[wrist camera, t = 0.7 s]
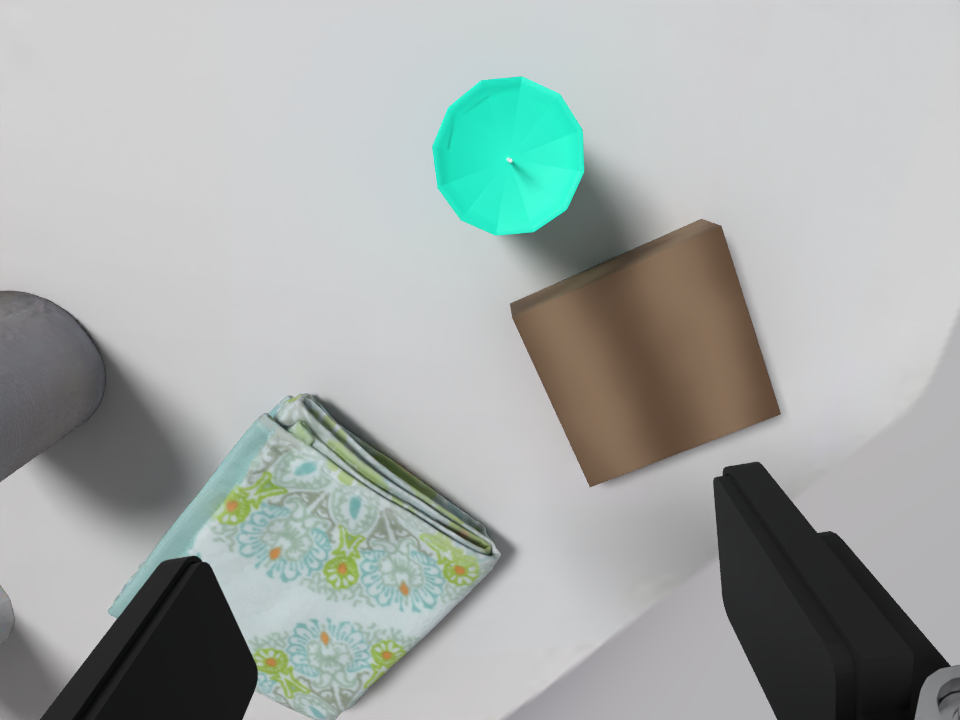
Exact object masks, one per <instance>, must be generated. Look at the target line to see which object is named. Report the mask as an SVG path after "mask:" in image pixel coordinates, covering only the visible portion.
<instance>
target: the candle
mask: <svg viewBox="0 0 960 720" xmlns="http://www.w3.org/2000/svg"><path fill="white" fill-rule="evenodd" d="M432 149H433V156H434V164H435V172H436V179H437V187H438V189H439V191H440V192H441V193H442V195H443V196H444V197H445V199H446V200H447V202H448V203H449V204H450V206H451V207H452V208H453V210H454V211H455V213H456V214H457V215H458V217H459V218H460V220H462V221H464V222H466V223H469V224H471V225H473V226H475V227H478V228H480V229H482V230H484V231H487V232H489V233H491V234H493V235H507V234H518V233H530V232H535V231H536V230H538V229H539V228H541V227H542V226H544V225H545V224H547V223H548V222H550V221H551V220H553V219H554V218H555V217H557V216H558V215H560V214H561V213H563V212H564V211H566V210H567V208H568V206H569V204H570V202H571V200H572V197H573V195H574V193H575V191H576V189H577V187H578V185H579V182H580V180H581V178H582V176H583V174H584V152H583V130H582V128H581V126H580V125H579V123H578V122H577V120H576V119H575V117H574V115H573V114H572V112H571V111H570V109H569V107H568V106H567V104H566V103H565V101H564V100H563V98H562V96H561V95H560V94H559V93H557V92H555V91H552V90H550V89H548V88H546V87H544V86H542V85H539V84H537V83H535V82H533V81H531V80H529V79H527V78H524V77H511V78H501V79H490V80H481V81H480V82H479V83H477V84H476V85H475V86H474V87H472V88H471V89H470V90H469V91H468V92H466V93H465V94H464V95H463V96H462V97H460V98H459V99H458V100H457V101H455V102H454V103H453V104H452V105H451V106H449V107H448V109H447V112H446V114H445V117H444V119H443V122H442V124H441V127H440V129H439V131H438V134H437V136H436V139H435V141H434V144H433V146H432Z"/></svg>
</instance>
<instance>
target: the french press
mask: <svg viewBox="0 0 960 720" xmlns="http://www.w3.org/2000/svg"><path fill="white" fill-rule="evenodd" d="M14 620H15V619H14V615H13V610H12V606H11V601H10V599H9V597H8V596H7V594H6V593H5V592H4V590H3V589H2V588H1V586H0V644H1V643H3V642H4V641H5V640H6V639H7V638H8V637H9V635H10V632H11V629H12V626H13V623H14Z"/></svg>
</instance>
